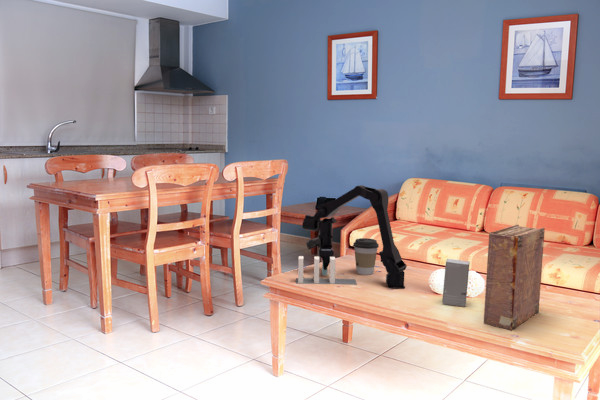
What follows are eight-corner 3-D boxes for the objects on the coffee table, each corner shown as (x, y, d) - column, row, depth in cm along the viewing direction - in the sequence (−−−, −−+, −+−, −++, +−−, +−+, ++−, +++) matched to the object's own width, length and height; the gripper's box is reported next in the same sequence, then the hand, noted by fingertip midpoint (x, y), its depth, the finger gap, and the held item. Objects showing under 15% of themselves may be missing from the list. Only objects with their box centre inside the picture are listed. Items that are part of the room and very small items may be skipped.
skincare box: (442, 304, 190) (444, 261, 188) (443, 299, 197) (445, 257, 195) (466, 307, 187) (468, 264, 186) (467, 301, 194) (469, 259, 192)
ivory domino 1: (318, 279, 220) (319, 256, 218) (318, 283, 215) (319, 259, 213) (313, 279, 220) (314, 256, 218) (314, 283, 215) (314, 259, 213)
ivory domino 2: (334, 280, 220) (334, 256, 218) (334, 283, 215) (335, 259, 213) (329, 280, 220) (329, 256, 218) (329, 283, 215) (330, 259, 213)
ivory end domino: (303, 279, 220) (303, 256, 218) (303, 282, 215) (303, 258, 213) (298, 279, 220) (298, 256, 218) (298, 282, 215) (298, 258, 213)
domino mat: (355, 279, 222) (355, 279, 222) (357, 285, 214) (357, 284, 214) (295, 278, 222) (295, 277, 222) (295, 284, 214) (295, 283, 214)
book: (512, 306, 190) (517, 224, 186) (539, 312, 184) (545, 227, 180) (483, 323, 171) (488, 232, 168) (512, 331, 165) (518, 236, 161)
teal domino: (326, 273, 233) (327, 250, 231) (327, 276, 228) (327, 253, 226) (322, 273, 233) (322, 250, 231) (322, 275, 228) (323, 253, 226)
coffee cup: (349, 270, 238) (350, 237, 236) (374, 270, 239) (375, 237, 238) (355, 276, 227) (356, 242, 225) (380, 276, 228) (382, 242, 226)
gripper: (306, 228, 237) (306, 262, 239) (307, 235, 219) (306, 272, 220) (331, 228, 237) (330, 262, 239) (334, 236, 219) (333, 273, 220)
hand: (324, 267), depth 230 cm, fingers open, 7 cm apart
